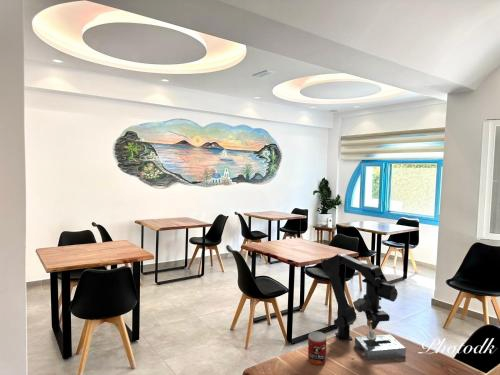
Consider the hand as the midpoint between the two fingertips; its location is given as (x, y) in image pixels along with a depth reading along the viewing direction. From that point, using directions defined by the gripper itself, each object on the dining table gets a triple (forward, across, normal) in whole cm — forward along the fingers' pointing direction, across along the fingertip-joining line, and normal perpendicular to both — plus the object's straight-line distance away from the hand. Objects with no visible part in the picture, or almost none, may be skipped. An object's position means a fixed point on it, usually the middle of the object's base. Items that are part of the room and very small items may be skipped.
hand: (371, 327), depth 147 cm
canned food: (+12, +3, -27) cm, 29 cm away
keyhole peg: (+5, 0, 0) cm, 5 cm away
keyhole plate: (+11, 0, +4) cm, 12 cm away
